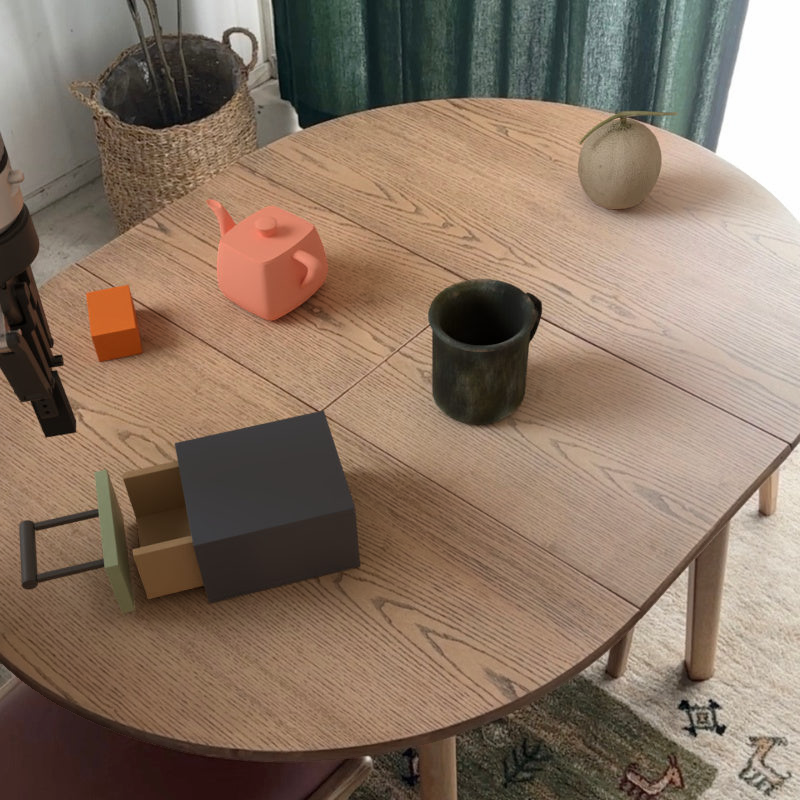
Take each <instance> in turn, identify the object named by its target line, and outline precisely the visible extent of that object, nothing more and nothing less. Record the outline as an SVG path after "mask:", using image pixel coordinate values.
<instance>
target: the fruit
mask: <svg viewBox="0 0 800 800" xmlns="http://www.w3.org/2000/svg"><path fill="white" fill-rule="evenodd" d="M677 115H678V112H677V111H676V112H671V111H669V112H666V111H665V112H664V111H647V110H646V111H645V110H644V111H643V110H622V111H619V112H618V113H615V114H614V115H612V116H609V117H608V118H606V119H604V120H603V121H600V122H599V123H598V124H596V125H595V126H594V127H592V128H591V129H590V130H589V131H587V133H585V135H584V136H583V137H582V138H581V139H580V140H579V142H578V144H579V146H581V145H582V147H581V149H580V150H579V157H578V161H577V174H578V178H579V182H580V185H581V187H582V189H583V191H584V193H585V194H586V196H587V197H588V198H589V199H590V200H591V201H592V202H593V203H594V204H595V205H597V206H598V207H599V206H600V207H602V208H604V209H608V210H622V209H629V208H632V207H635V206H636V205H638V204H640V203H641V202H643V201H644V200H645V199H646V198H647V197H649V195H650V194H651V193H652V191H653V189H655V187H656V184H657V182H658V179H659V177H660V174H661V169H662V160H663V159H662V158H663V157H662V149H661V146H660V143H659V141H658V139H657V136H656V134H654V132H653V131H652V130H651V128H649V127H647V126H646V125H645V124H644V123H641V122H640V121H637V120H635V119H632V118H630V117H641V116H643V117H644V116H645V117H646V116H651V117H654V116H655V117H661V116H663V117H664V116H665V117H666V116H677Z"/></svg>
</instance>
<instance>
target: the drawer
mask: <svg viewBox="0 0 800 800" xmlns="http://www.w3.org/2000/svg"><path fill="white" fill-rule="evenodd" d="M121 476H122V480H123V484H124V486H125V490H126V492H127V495H128V496H127V497H128V498H129V502H130V504H131V508H132V510H133V514H134V517H135V522H136V530H137V536H138V542H139V543H138V544H139V547H137V548H132V557H133V559H134V563H135V565H136V568H137V572H138V574H139V577H140V580H141V583H142V586H143V589H144V592H145V595H146V597H147V599H148V600H150V599H155V598H159V597H163V596H167V595H172V594H175V593H179V592H183V591H187V590H191V589H192V590H193V589H195V588H199V587H203V586H204V583H203V580H202V576H201V572H200V569H199V565H198V562H197V558H196V554H195V550H194V547H193V542H192V537H191V531H190V526H189V520H188V515H187V509H186V504H185V498H184V493H183V487H182V482H181V476H180V471H179V465H178V460H173V461H170V462H165V463H161V464H156V465H152V466H148V467H142V468H138V469H134V470H129V471H124V472H122V475H121ZM94 482H95V491H96V500H97V508H94V509H90V510H86V511H81V512H77V513H72V514H67V515H63V516H60V517H54V518H50V519H45V520H42V521H36V522H34V521H33V520H31V519H26V520H22V521H20V523H19V524H18V532H19V533H18V534H19V535H18V536H19V557H20V559H19V560H20V582H21V588H22V589H24V590H28V591H29V590H30V591H31V590H34V589H36V588H37V587H38V585H39V584H41V583H44V582H49V581H54V580H57V579H61V578H65V577H70V576H73V575H78V574H82V573H87V572H91V571H94V570H99V569H103V568H104V570H105V572H106V575H107V578H108V580H109V584H110V586H111V589H112V591H113V593H114V596H115V598H116V601H117V604H118V606H119V609H120V611H121V614H127V613H132V612H135V611H136V605H135V597H134V590H133V581H132V574H131V566H130V558H129V551H128V544H127V535H126V526H125V520H124V519H125V518H124V514H123V511H122V509H121V506H120V503H119V501H118V497H117V494H116V491H115V488H114V486H113V482H112V480H111V476H110V473H109V471H108V469H107V468H106V469H102V470H97V471H94ZM95 518H98V519H99V528H100V529H99V530H100V538H101V547H102V557H103V558H100V559H95V560H91V561H87V562H83V563H79V564H74V565H71V566H66V567H61V568H57V569H53V570H49V571H45V572H41V573H39V572H38V557H37V556H38V555H37V539H36V536H37V535H36V532H39V531H44V530H47V529H52V528H56V527H61V526H64V525H69V524H73V523H78V522H82V521H87V520H91V519H95Z"/></svg>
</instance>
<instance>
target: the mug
mask: <svg viewBox="0 0 800 800" xmlns="http://www.w3.org/2000/svg"><path fill="white" fill-rule="evenodd" d="M542 313H543V302H542V300H541V299H540V298H538V297H537V296H536V295H535V294H532V293H531V292H529V291H527V292H525V291H523V290H522V289H521V288H520V287H517V286H516V285H514V284H511V283H509V282H506V281H503V280H498V279H494V278H493V279H492V278H472V279H466V280H463V281H459V282H456V283H454V284H450V285H449V286H448V287H445V288H444V289H443V290H441V291H440V292H439V293H438V294H437V295H436V296H435V297H434V298H433V300H432V301H431V302H430V305H429V308H428V313H427V318H428V319H427V321H428V323H429V326H430V329H431V334H432V335H431V339H432V341H431V345H432V346H431V349H432V350H431V351H432V352H431V356H432V357H431V358H432V359H431V368H432V369H431V382H432V383H431V384H432V385H431V388H432V389H431V391H432V398H433V400H434V403H435V404H436V406H437V407H438V408H439V410H440V411H441V412H443V413H444V414H445V415H446V416H447V417H449V418H451V419H452V420H455V421H456V422H460V423H463V424H468V425H474V426H475V425H476V426H477V425H489V424H494V423H497V422H499V421H502V420H504V419H506V418H508V417H509V416H511V415H512V414H513V413H514V412H515V411H517V410H518V408H519V407H520V406H521V404H522V402H523V401H524V398H525V395H526V383H527V374H528V373H527V372H528V362H529V361H528V360H529V352H530V351H529V350H530V343H531V341H533V339H534V337H535V335H536V333H537V331H538V328H539V325H540V323H541V318H542Z"/></svg>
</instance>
